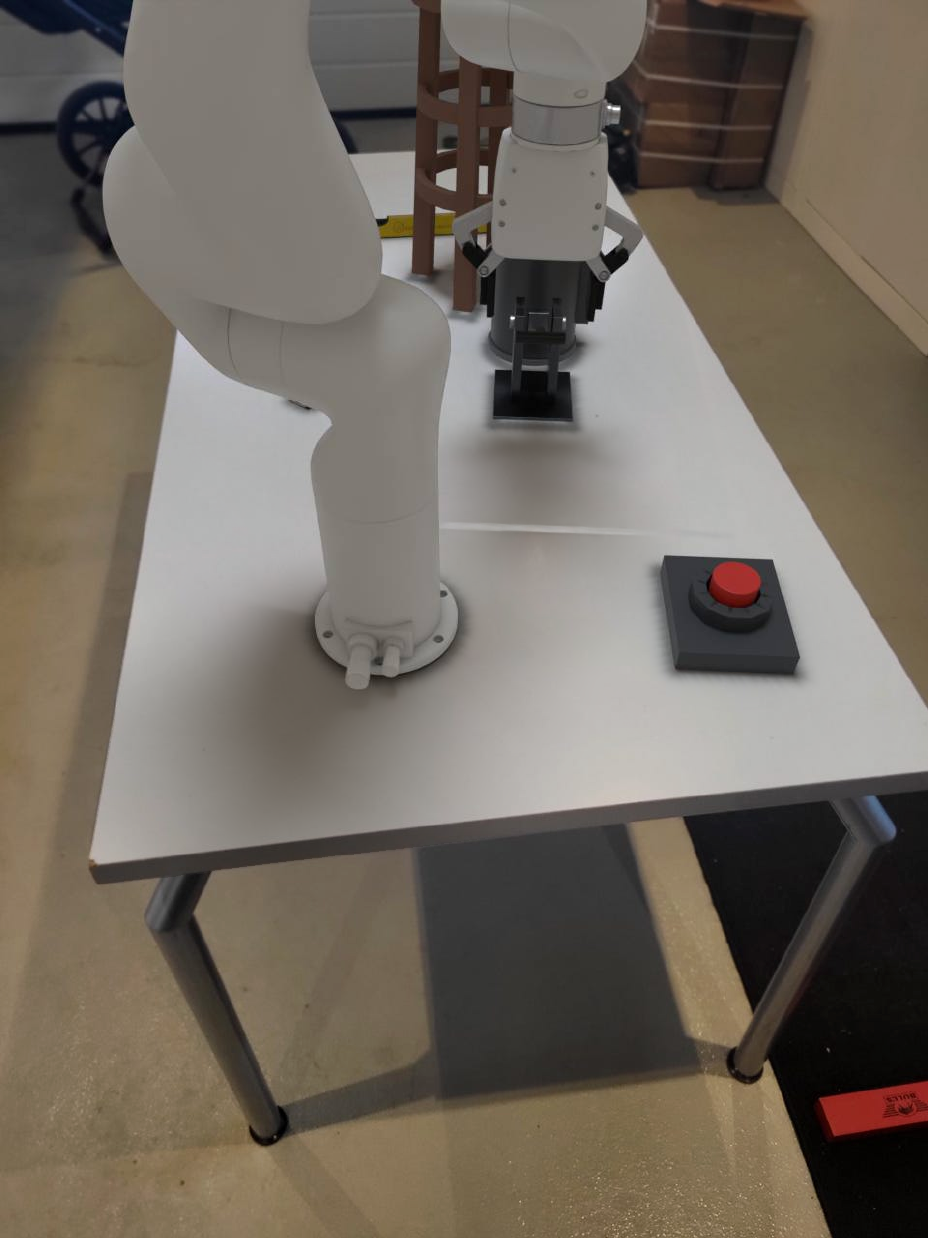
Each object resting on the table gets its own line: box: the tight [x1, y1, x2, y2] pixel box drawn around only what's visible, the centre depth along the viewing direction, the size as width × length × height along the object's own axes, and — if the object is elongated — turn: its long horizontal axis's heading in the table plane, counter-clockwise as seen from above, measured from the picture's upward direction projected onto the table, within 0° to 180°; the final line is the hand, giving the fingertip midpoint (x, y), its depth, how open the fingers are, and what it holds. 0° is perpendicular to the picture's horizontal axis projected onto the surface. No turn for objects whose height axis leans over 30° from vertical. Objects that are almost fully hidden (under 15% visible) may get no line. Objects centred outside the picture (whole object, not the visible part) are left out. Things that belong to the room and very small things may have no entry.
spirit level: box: [375, 211, 487, 238], centre depth 132 cm, size 33×1×3 cm, turn 98°
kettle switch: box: [515, 309, 566, 345], centre depth 92 cm, size 11×5×2 cm, turn 177°
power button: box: [709, 562, 761, 608], centre depth 76 cm, size 4×4×2 cm
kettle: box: [487, 257, 592, 367], centre depth 106 cm, size 13×12×17 cm
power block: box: [659, 554, 801, 675], centre depth 78 cm, size 12×10×4 cm
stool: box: [411, 0, 514, 313], centre depth 110 cm, size 20×35×20 cm
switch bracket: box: [492, 297, 574, 423], centre depth 99 cm, size 10×9×12 cm
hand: (539, 313), depth 86 cm, fingers open, 9 cm apart
